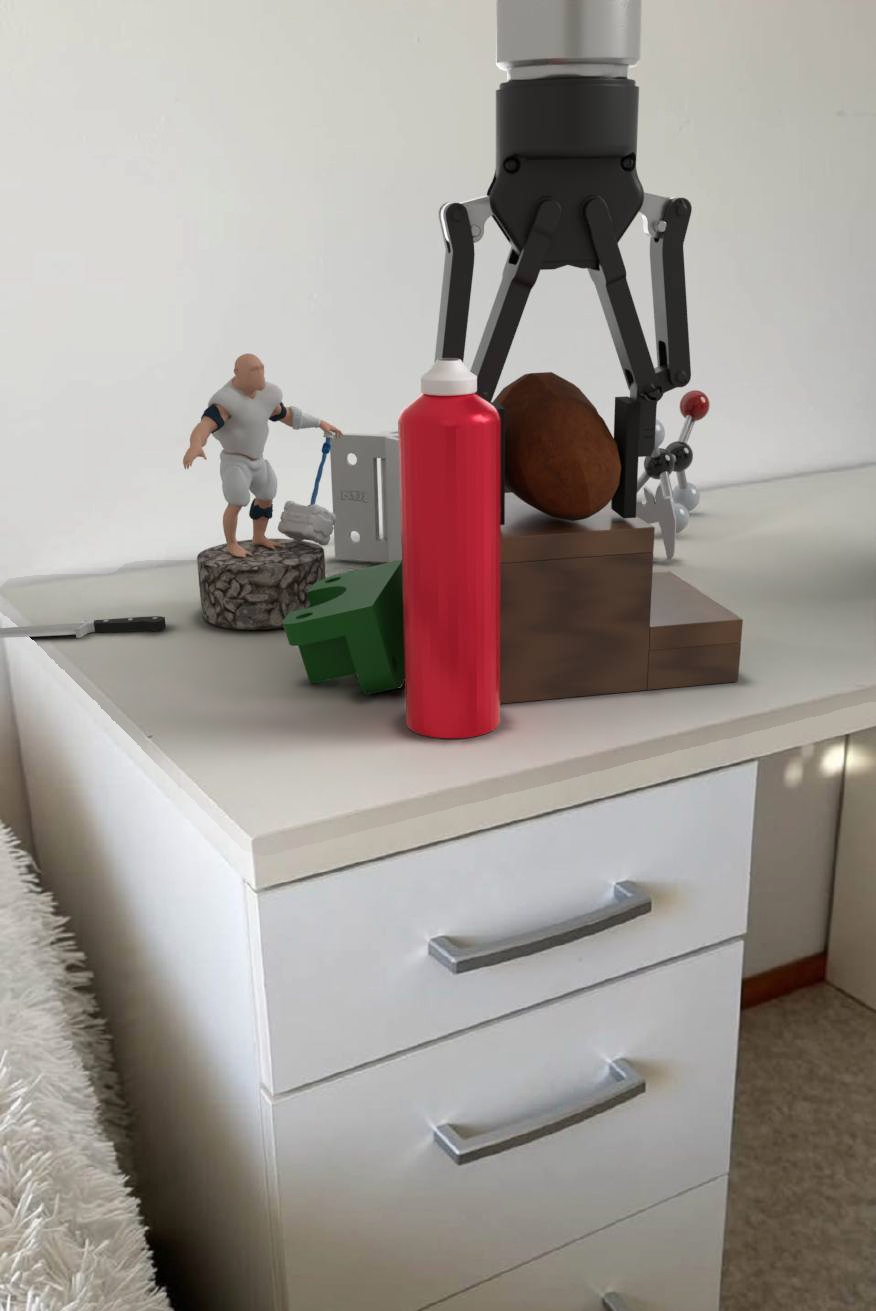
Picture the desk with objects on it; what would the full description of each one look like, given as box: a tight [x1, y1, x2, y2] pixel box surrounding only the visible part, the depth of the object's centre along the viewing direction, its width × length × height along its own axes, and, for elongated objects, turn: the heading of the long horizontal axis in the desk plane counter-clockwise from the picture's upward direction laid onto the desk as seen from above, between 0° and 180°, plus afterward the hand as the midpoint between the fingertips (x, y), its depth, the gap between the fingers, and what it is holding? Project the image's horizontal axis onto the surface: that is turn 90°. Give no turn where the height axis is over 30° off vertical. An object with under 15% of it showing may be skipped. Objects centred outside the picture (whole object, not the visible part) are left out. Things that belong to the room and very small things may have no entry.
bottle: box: [397, 358, 501, 739], centre depth 78 cm, size 6×5×20 cm
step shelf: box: [500, 493, 744, 705], centre depth 89 cm, size 16×12×10 cm
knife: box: [0, 615, 167, 639], centre depth 99 cm, size 15×1×2 cm
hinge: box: [329, 429, 402, 563], centre depth 112 cm, size 14×5×10 cm, turn 46°
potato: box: [492, 371, 621, 521], centre depth 85 cm, size 8×12×8 cm, turn 21°
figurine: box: [182, 352, 343, 630], centre depth 99 cm, size 15×9×18 cm, turn 141°
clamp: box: [282, 559, 405, 695], centre depth 90 cm, size 12×6×9 cm, turn 166°
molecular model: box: [611, 389, 711, 534], centre depth 126 cm, size 8×12×11 cm
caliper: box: [636, 482, 677, 561], centre depth 116 cm, size 20×1×6 cm, turn 77°
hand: (559, 515), depth 84 cm, fingers closed on potato, 7 cm apart
